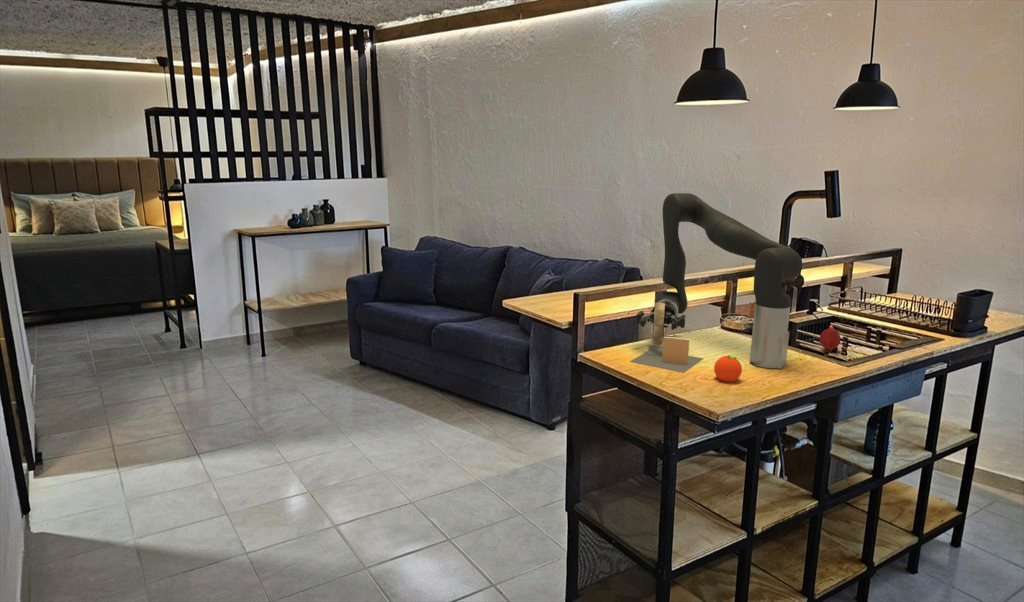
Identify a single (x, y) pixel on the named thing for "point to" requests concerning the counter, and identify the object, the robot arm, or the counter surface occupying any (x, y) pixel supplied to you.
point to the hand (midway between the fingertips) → (657, 325)
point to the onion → (830, 338)
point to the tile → (675, 350)
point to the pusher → (657, 331)
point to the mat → (657, 362)
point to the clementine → (728, 368)
